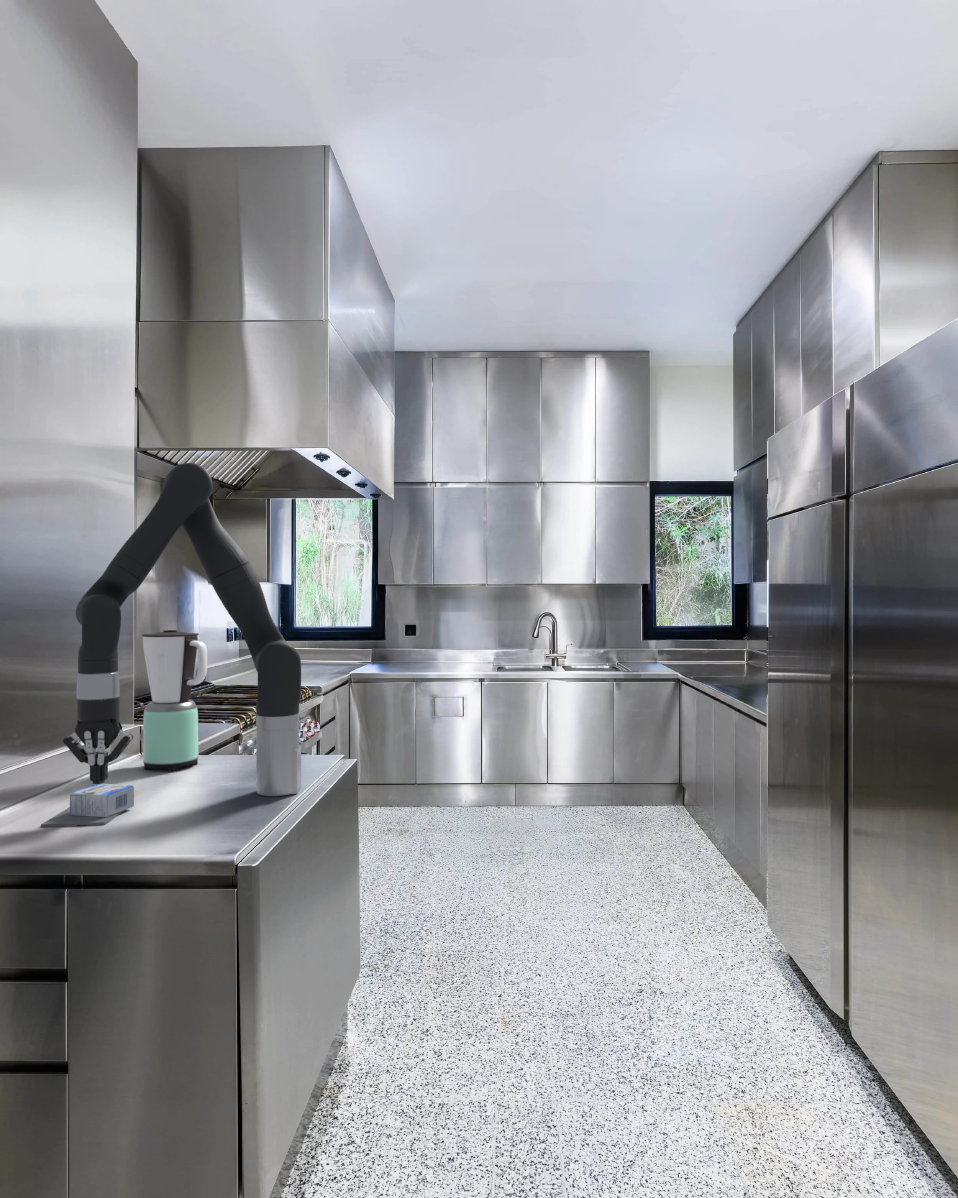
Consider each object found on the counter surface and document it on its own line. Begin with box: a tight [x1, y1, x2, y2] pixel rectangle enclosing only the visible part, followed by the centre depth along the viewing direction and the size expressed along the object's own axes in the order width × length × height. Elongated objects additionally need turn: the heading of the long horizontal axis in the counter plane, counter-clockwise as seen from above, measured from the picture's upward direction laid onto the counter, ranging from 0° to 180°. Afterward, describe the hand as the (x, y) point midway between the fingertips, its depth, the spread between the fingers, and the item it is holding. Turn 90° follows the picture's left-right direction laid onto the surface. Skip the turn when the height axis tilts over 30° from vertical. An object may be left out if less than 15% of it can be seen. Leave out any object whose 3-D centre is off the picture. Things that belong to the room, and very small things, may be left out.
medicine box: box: [69, 783, 135, 817], centre depth 145 cm, size 8×4×9 cm
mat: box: [40, 806, 125, 828], centre depth 143 cm, size 12×12×1 cm
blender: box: [139, 629, 208, 773], centre depth 186 cm, size 19×13×35 cm
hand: (98, 783), depth 143 cm, fingers closed
